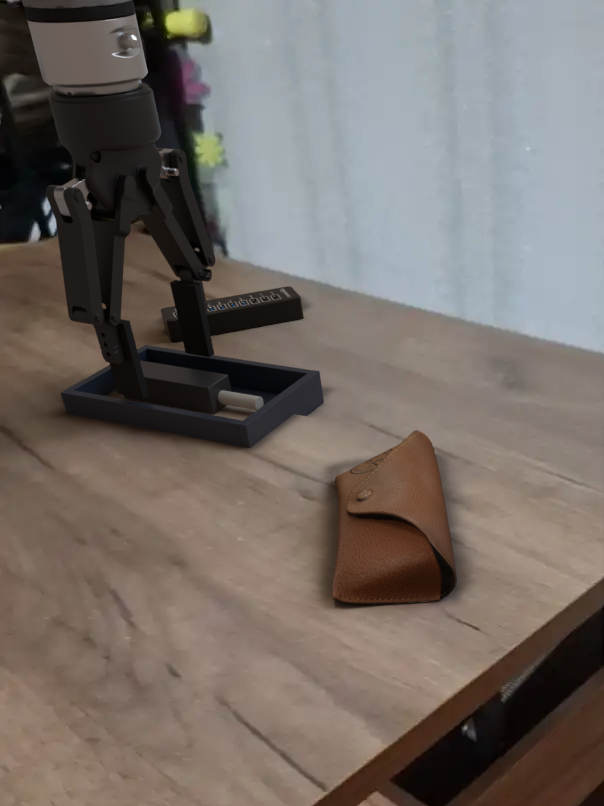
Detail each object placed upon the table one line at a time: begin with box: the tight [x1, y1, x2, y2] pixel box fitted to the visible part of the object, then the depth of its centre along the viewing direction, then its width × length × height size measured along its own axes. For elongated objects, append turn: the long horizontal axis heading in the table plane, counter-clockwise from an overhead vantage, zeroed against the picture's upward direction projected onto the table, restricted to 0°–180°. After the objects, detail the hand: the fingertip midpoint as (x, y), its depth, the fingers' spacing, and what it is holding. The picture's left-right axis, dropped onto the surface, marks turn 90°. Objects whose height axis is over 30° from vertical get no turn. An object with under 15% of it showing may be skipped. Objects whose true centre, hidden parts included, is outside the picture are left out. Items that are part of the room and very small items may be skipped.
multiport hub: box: [160, 286, 304, 343], centre depth 103 cm, size 4×14×2 cm, turn 114°
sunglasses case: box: [331, 429, 458, 606], centre depth 68 cm, size 18×7×7 cm
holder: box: [59, 344, 325, 449], centre depth 85 cm, size 20×12×3 cm, turn 66°
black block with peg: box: [123, 361, 263, 415], centre depth 85 cm, size 14×3×3 cm, turn 66°
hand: (168, 373), depth 85 cm, fingers open, 9 cm apart
